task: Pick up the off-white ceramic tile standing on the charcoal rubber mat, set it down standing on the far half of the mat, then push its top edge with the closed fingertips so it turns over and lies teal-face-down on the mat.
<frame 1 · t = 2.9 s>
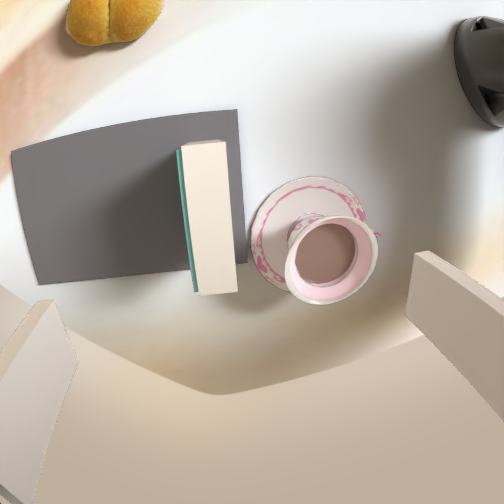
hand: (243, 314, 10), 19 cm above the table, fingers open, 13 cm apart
bread roll: (115, 11, 20), on the table
teacup: (309, 236, 31), on the table
tile: (208, 192, 27), point 1 cm above the table, touching mat
mat: (121, 201, 27), on the table
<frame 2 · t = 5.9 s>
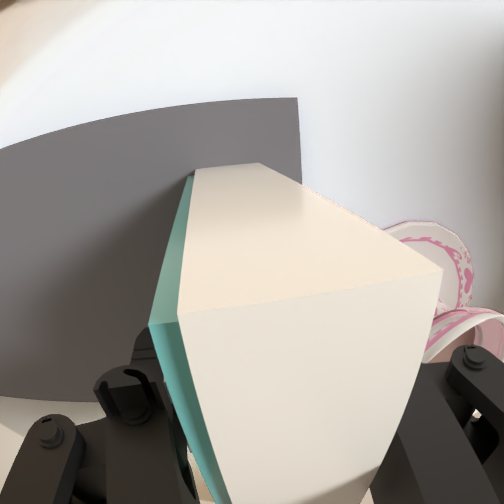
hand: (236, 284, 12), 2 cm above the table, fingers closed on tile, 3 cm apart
teacup: (394, 317, 17), on the table
tile: (237, 274, 13), point 1 cm above the table, touching gripper, mat
mat: (65, 288, 13), on the table
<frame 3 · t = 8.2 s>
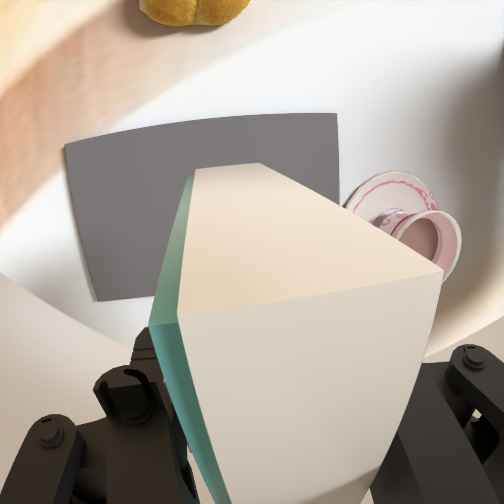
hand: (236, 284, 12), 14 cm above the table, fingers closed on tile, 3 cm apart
teacup: (389, 231, 29), on the table
tile: (237, 274, 13), point 13 cm above the table, touching gripper
mat: (207, 207, 25), on the table
when the fingers open (2 cm above the table, at t = 10.8 s): tile stays where it is, resting on mat.
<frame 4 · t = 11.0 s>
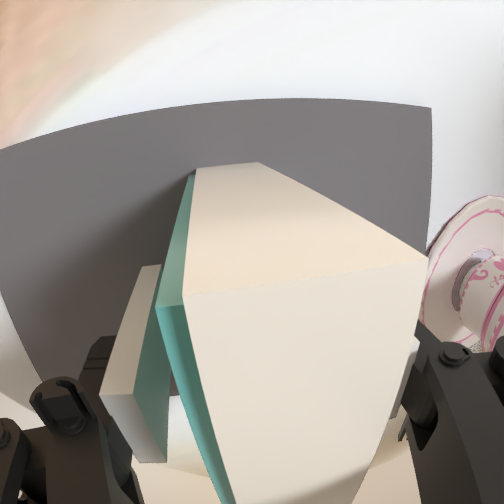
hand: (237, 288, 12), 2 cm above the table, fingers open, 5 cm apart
teacup: (472, 279, 18), on the table
tile: (237, 271, 14), point 1 cm above the table, touching mat
mat: (209, 269, 14), on the table
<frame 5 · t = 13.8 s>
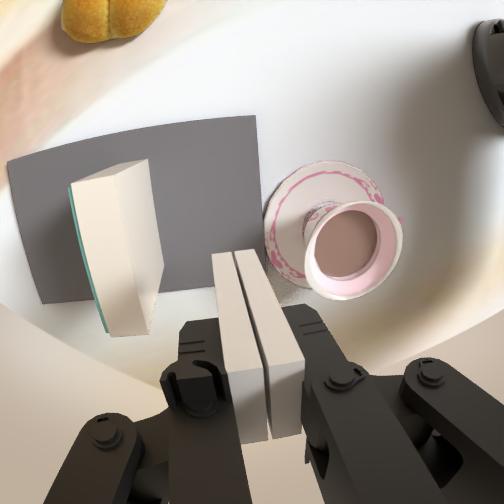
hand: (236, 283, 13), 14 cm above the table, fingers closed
bread roll: (115, 5, 18), on the table
teacup: (326, 226, 28), on the table
tile: (141, 216, 24), point 1 cm above the table, touching mat
mat: (129, 216, 25), on the table
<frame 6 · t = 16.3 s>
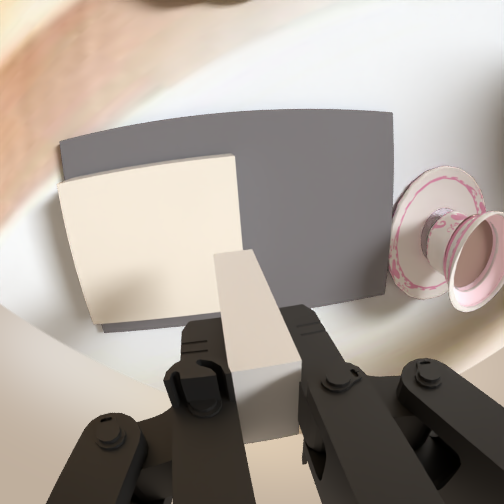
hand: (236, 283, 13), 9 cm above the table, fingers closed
teacup: (438, 233, 24), on the table
tile: (239, 231, 19), point 2 cm above the table, tilted 90°, touching mat
mat: (239, 221, 21), on the table
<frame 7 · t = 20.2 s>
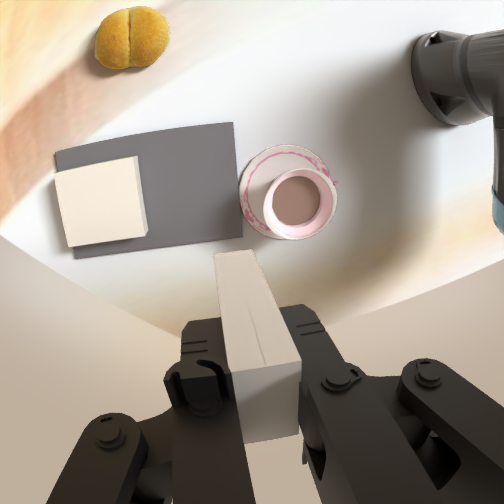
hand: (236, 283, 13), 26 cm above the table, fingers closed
bread roll: (132, 41, 29), on the table
teacup: (286, 192, 39), on the table
tile: (140, 195, 34), point 2 cm above the table, tilted 90°, touching mat
mat: (145, 191, 36), on the table
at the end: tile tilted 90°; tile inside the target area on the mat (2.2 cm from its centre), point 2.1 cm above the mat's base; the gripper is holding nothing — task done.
